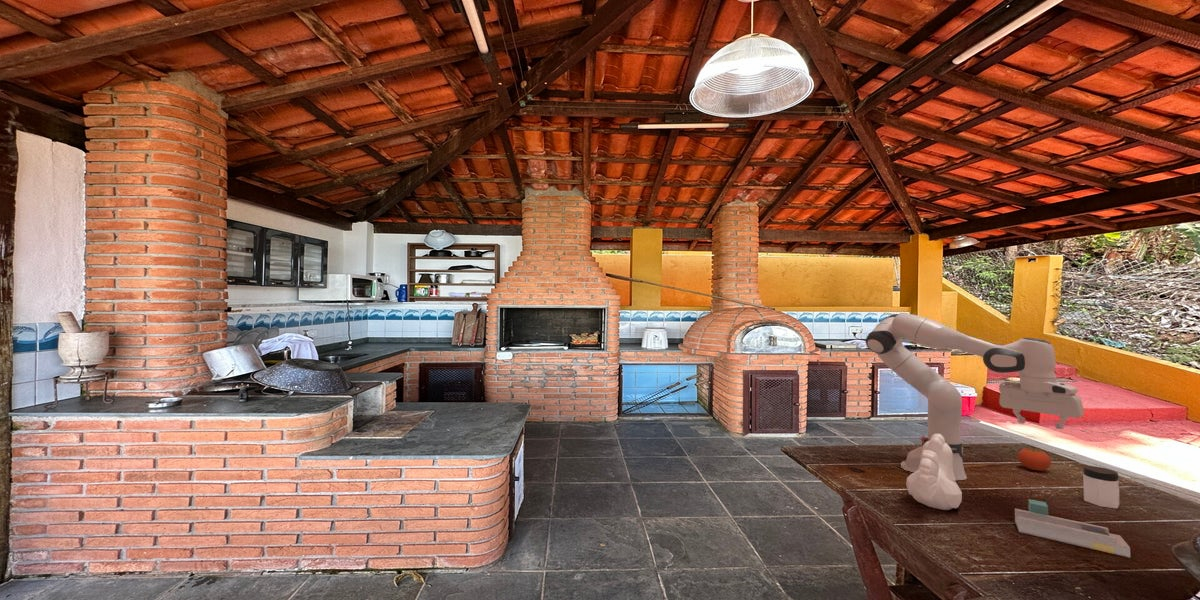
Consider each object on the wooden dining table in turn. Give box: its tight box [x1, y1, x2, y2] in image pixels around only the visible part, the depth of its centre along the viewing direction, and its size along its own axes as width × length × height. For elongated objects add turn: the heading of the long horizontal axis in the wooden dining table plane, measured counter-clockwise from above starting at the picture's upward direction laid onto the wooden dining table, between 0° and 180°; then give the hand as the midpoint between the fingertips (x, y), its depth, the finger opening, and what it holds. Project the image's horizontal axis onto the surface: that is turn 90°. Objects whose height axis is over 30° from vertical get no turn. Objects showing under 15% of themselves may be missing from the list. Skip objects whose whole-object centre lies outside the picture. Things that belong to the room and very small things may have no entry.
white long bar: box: [1014, 508, 1131, 559], centre depth 127 cm, size 22×8×6 cm, turn 52°
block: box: [1027, 498, 1050, 516], centre depth 137 cm, size 4×4×6 cm
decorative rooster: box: [905, 434, 963, 511], centre depth 151 cm, size 25×16×25 cm, turn 119°
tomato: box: [1017, 446, 1052, 472], centre depth 185 cm, size 10×10×10 cm
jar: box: [1082, 465, 1120, 510], centre depth 153 cm, size 9×8×12 cm
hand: (1039, 425), depth 145 cm, fingers open, 8 cm apart
